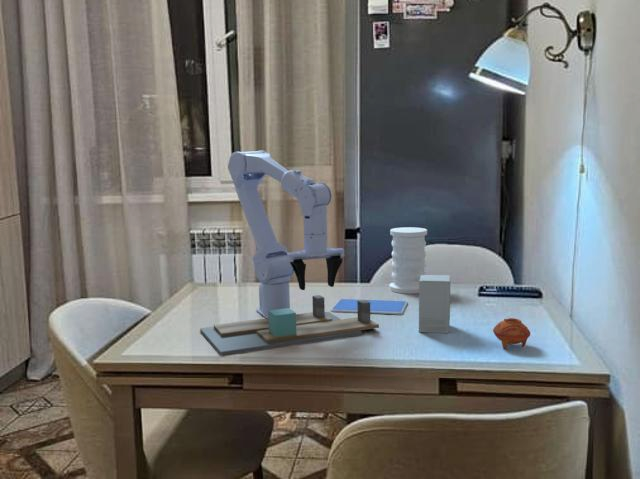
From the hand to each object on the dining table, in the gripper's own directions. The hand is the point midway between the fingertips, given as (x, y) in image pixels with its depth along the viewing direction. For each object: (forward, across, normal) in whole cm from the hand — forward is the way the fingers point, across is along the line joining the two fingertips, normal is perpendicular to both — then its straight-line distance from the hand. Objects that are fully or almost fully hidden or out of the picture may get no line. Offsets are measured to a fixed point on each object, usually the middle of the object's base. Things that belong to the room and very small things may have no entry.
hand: (316, 287), depth 173 cm
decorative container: (+10, +39, +23) cm, 46 cm away
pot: (+10, +32, -35) cm, 48 cm away
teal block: (+8, -12, -8) cm, 16 cm away
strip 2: (+9, -3, -8) cm, 13 cm away
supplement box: (+10, +24, -16) cm, 30 cm away
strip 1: (+9, -11, +2) cm, 15 cm away
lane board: (+9, -11, -3) cm, 15 cm away
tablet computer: (+10, +19, +9) cm, 23 cm away
